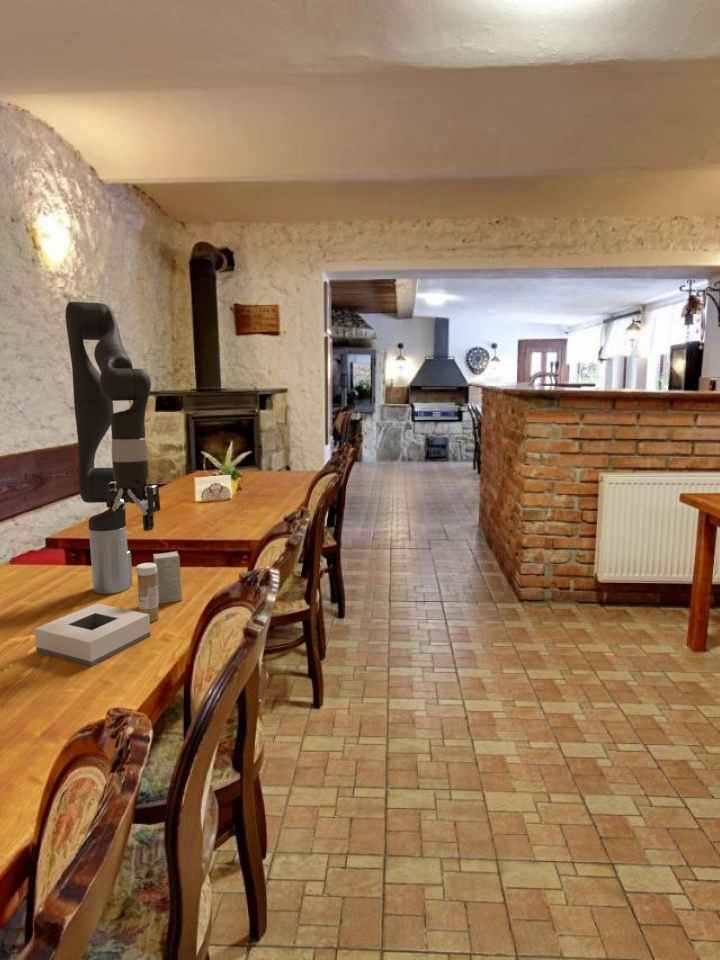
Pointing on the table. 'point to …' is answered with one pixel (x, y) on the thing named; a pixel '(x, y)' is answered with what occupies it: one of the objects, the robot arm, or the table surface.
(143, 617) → the socket block
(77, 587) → the table surface
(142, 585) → the sprinkles bottle
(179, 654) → the table surface
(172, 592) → the skincare box
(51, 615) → the table surface
